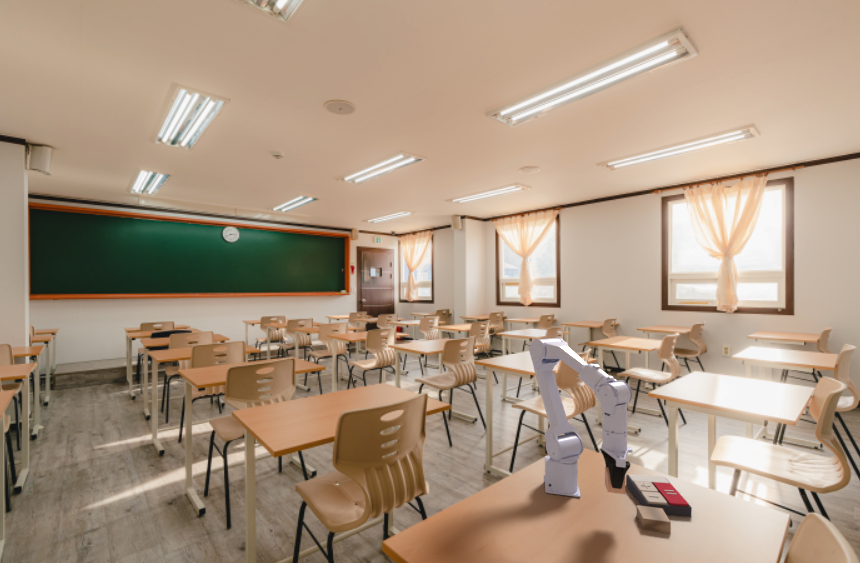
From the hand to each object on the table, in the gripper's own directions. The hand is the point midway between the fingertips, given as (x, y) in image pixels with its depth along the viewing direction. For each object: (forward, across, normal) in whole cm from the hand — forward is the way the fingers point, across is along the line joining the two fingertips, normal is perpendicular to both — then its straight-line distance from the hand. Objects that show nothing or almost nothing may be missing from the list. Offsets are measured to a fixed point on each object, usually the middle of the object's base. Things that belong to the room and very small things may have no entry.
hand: (614, 483), depth 99 cm
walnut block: (+10, +1, -9) cm, 13 cm away
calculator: (+10, +14, -13) cm, 22 cm away
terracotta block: (+2, 0, 0) cm, 2 cm away
